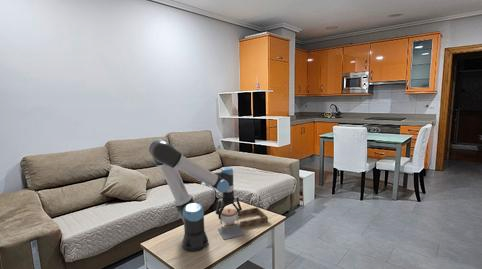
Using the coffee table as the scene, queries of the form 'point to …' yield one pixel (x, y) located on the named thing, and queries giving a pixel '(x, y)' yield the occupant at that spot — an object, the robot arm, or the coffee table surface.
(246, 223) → the walnut holder
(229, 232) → the grey mat
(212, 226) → the coffee table surface
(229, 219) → the lidded jar
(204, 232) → the robot arm
